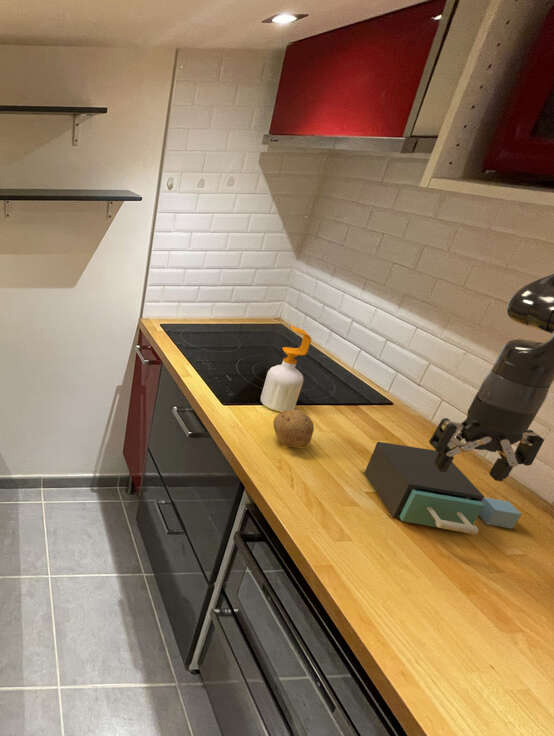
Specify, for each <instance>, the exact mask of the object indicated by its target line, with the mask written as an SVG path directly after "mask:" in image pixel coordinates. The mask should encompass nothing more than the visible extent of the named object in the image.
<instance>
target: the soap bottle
mask: <svg viewBox="0 0 554 736" xmlns="http://www.w3.org/2000/svg"><path fill="white" fill-rule="evenodd" d="M290 328H291V329H292V330H293V331H294V332H295V333H297V334H299V335H302V336H303V337H302V340H301V343H300V346H299V347H288V346H283V347H282V351H283V353H285V354H286V355H287V356H285V357H283V358H282V359H283V360H282V362H281V364H277V365H275V366H271V367H270V369H268V371H267V373H266V377H265V380H264V383H263V388H262V391H261V394H260V402H261V404H262V405H263V406H265V407H266V408H267V409H270V410H272V411H276V412H279V413H281V412H283V411H286V410H295V408H296V405H297V402H298V399H299V396H300V392H301V390H302V387H303V384H304V375H303V374H302V372H300V370H298V368H296V366H297V362H298V360H297V359H296V358H297V357H298V356H306V355H307V354H308V352H309V348H310V346H311V342H312V337H311V336H310V335H309V334H308V332H306V330H304V329H303V328H299V327H297V326H295V325H291V326H290Z"/></svg>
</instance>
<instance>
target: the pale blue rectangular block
mask: <svg viewBox="0 0 554 736" xmlns="http://www.w3.org/2000/svg"><path fill="white" fill-rule="evenodd" d="M481 503H482V504H483V505H484V507H483V509H482V511H481V512H480V514H479V516H478V517H479V518H481V520H482V521H483V522H484V523H485V524H486V525H488V526H489V525H490V526H494V527H501V528H506V529H510V530H513V529H514V527H515V526H516V524H517V522H518V521H519V519H520V518H521V516H522V512H520V511H519V510H518V509H517V508H516V507H515V506H514V505H513V504H512V503H511V502H510V501H509V500H502V499H496V498H490V497H485V496H484V498H483V500H482V502H481Z"/></svg>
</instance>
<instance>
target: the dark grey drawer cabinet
mask: <svg viewBox="0 0 554 736" xmlns="http://www.w3.org/2000/svg"><path fill="white" fill-rule="evenodd" d="M437 454H438V452H437V451H436V450H435V449H429V448H423V447H415V446H408V445H403V444H397V443H396V444H395V443H390V442H382V441H376V444H375V447H374V449H373V451H372V454H371V456H370V459H369V461H368V463H367V466H366V468H365V471H364V472H363V473H364V474H365V476H366V478H367V480H368V481H369V483H370V484H371V486H372V487H373V488H374V490H375V492H376V493H377V495H378V496H379V499H381V501H382V502H383V503H382V504H384V506H385V507H386V508H387V510H388V512H389V513H390V515H391V517H392V518H394V519H399V520H401V519H400V517H399V516H400V514H401V510H402V507H403V505H404V503H405V501H406V499H407V497H408V495H409V493H410V491H411V489H412V488H418V489H423V490H429V491H435V492H441V493H447V494H453V495H459V496H465V497H471V498H470V500H475V501H480V502H482V500H483V498H484V497H485V496H484V495H483V493H482V492H481V491H480V490H479V488H478V487H476V485H475V484H474V483H472V481H471V480H470V479H469V478H468V477H467V476H466V475H465V474H464V473H463V472H462V471H461V469H460V468H458V466H457V465H456V464H455V463H454V462H453V461H452V462H451V464H450V466H449V468H448V470H447V472H440V471H439V470H438V468H437V467H436V465H435V464H434V460H435V458H436V456H437Z"/></svg>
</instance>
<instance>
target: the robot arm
mask: <svg viewBox="0 0 554 736" xmlns="http://www.w3.org/2000/svg"><path fill="white" fill-rule="evenodd" d="M506 314H507V316H508V317H509V319H511V320H512V321H513V322H515V323H517V324H519V325H523V326H525V327H529V328H532V329H535V330H539V331H542V332H545V333H548V334H551V335H552V336H551V338H550V339H548V340H547V341H545V342H543V341H536V340H531V339H523V338H522V339H521V338H519V339H511V340H509V341H507V342H506V343H505V344H504V345H503V346H502V348H501V350H500V351H499V354H498V355H497V357H496V359H495V361H494V363H493V366H492V367H491V369H490V371H489V372H488V374H487V375H486V376H485V378H484V379H483V380H482V382H481V384H480V386H479V388H478V389H477V392H476V394H475V395H474V398H473V400H472V402H471V404H470V405H469V408H468V410H467V413H466V414H467V415H466V418H465V419H464V420H463V421H462V422H456V421H451V419H449V418H447V417H443V418H442V419H441V420H440V422H439V423H438V426H437V427H436V429H435V430H434V432H433V434H432V436H431V437H430V439H429V441H428V443H429V444H430V445H431V446H432V448H433V449H434V450H436V451H437V452H438V454H437V456H436V458H435V460H434V464H435V465H436V467H437V468H438V470H439V471H440V472H447V470H448V468H449V466H450V464H451V462H453V460H454V459H455V457H454V456H457V455H458V454H460V453H462V452H464V453H467V452H469V451H471V450H477V451H478V450H480V451H488V452H491V453H498V455H499V457H500V458H499V457H497V459H496V461H495V462H494V464H493V466H492V467H491V469H490V471H489V476H490V478H492V479H493V480H494V481H496V482H503V480H505V479H507V478H508V477H509V475H510V473H511V472H512V470H513V468H515V467H518V465H523V466H527V467H528V466H531V465H533V464H534V461H535V459H536V458H537V455H538V454H539V451H540V449H541V447H542V445H543V443H544V441H545V439H544V438H543V437H542V436H540V435H539V434H538V433H537V432H535V431H534V430H532V429H529V428H530V427H531V425H532V423H533V421H534V420H535V418H536V416H537V415H538V413H539V411H540V410H541V408H542V406H543V404H544V403H545V401H546V399H547V396H548V394H549V391H550V388H551V386H552V385H553V383H554V273H552V274H550V275H547V276H544V277H541V278H538V279H536V280H534V281H531V282H530V283H527V284H525V285H523V286H522V287H521V288H520V289H518V290H517V291H515V292H514V294H512V296H511V297H510V298H509V300H508V301H507V303H506ZM462 440H464V441H465V443H463V442H462ZM516 443H518V444H517V447H516V449H515V451H514V449H513V447H512V446H513V445H514V444H516Z"/></svg>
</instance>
